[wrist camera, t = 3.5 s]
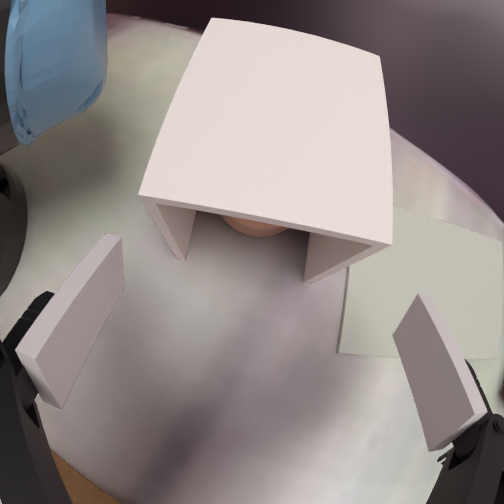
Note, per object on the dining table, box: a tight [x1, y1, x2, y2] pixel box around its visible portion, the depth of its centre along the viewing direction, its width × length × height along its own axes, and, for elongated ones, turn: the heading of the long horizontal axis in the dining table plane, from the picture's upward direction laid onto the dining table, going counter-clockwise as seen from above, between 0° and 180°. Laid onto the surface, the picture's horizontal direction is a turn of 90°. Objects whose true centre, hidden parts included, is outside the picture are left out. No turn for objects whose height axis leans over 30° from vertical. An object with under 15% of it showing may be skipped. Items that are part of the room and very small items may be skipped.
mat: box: [337, 206, 503, 359], centre depth 24 cm, size 20×13×1 cm, turn 80°
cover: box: [138, 18, 393, 284], centre depth 19 cm, size 10×12×12 cm
